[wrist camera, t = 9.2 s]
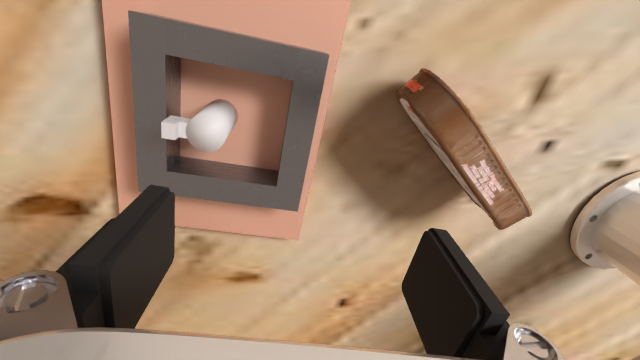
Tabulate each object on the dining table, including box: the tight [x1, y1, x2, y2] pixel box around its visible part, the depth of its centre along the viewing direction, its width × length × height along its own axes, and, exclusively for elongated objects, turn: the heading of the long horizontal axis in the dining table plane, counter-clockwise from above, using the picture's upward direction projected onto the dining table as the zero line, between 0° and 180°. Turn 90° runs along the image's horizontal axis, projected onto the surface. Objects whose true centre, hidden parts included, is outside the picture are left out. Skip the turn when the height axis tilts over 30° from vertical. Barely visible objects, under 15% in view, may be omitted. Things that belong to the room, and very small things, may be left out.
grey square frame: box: [128, 10, 329, 212], centre depth 22 cm, size 12×12×3 cm
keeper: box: [102, 0, 351, 240], centre depth 21 cm, size 16×22×7 cm
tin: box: [397, 69, 532, 229], centre depth 24 cm, size 15×3×8 cm, turn 41°
